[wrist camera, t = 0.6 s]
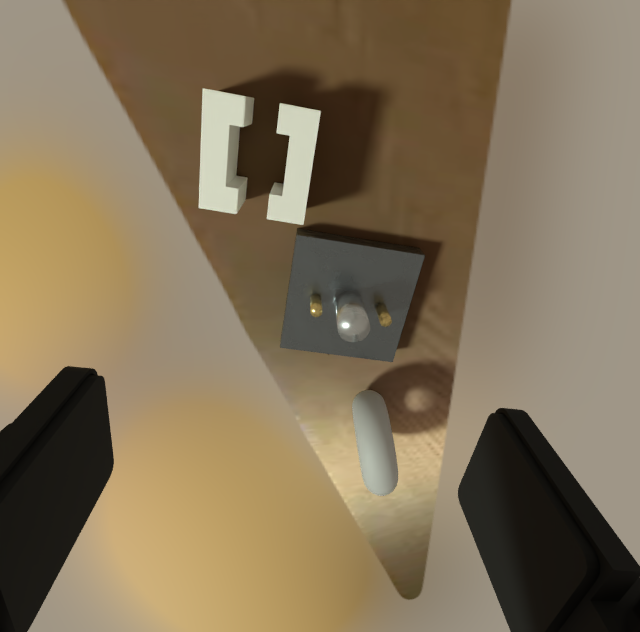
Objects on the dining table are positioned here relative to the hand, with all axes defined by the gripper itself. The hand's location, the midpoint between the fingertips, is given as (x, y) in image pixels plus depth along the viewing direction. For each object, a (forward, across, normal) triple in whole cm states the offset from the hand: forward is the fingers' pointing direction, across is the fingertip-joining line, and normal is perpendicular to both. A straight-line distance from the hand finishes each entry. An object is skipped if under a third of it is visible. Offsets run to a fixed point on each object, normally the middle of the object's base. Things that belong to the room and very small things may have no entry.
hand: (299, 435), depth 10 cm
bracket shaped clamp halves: (+27, +4, -4) cm, 28 cm away
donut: (+28, -10, +21) cm, 36 cm away
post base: (+27, -5, +8) cm, 29 cm away
